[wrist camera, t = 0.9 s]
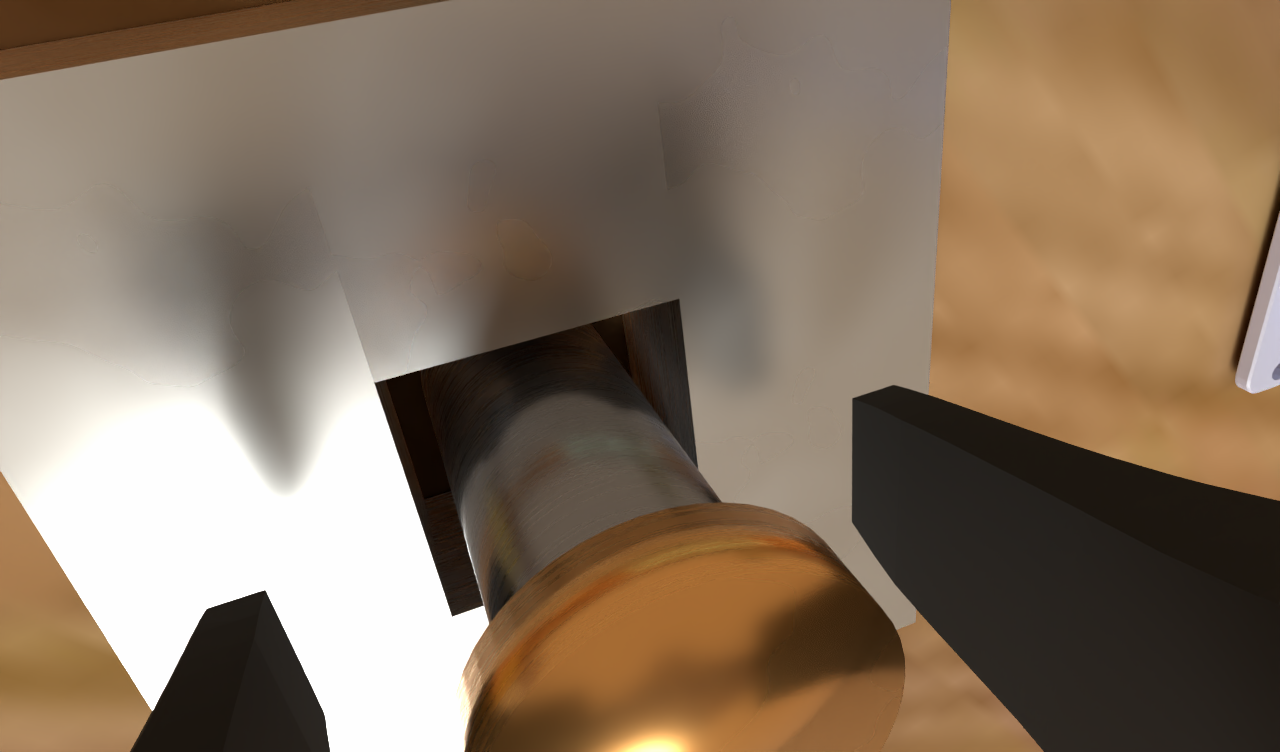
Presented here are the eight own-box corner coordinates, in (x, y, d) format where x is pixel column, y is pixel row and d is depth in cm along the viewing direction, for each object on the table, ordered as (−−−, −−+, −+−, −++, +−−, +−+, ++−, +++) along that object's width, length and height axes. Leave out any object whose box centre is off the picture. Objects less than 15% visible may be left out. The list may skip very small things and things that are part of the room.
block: (825, -90, 13) (955, -89, 10) (832, 528, 19) (915, 622, 16) (-95, 66, 10) (-222, 120, 7) (265, 732, 16) (261, 883, 14)
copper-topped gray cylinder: (613, 221, 14) (914, 507, 7) (644, 434, 16) (898, 806, 9) (348, 286, 13) (414, 688, 6) (420, 504, 15) (525, 976, 8)
